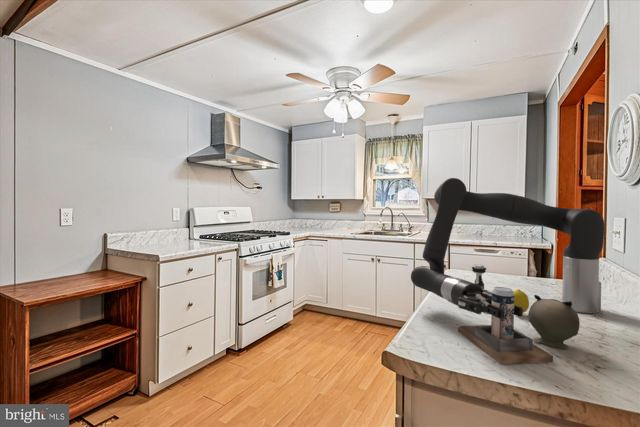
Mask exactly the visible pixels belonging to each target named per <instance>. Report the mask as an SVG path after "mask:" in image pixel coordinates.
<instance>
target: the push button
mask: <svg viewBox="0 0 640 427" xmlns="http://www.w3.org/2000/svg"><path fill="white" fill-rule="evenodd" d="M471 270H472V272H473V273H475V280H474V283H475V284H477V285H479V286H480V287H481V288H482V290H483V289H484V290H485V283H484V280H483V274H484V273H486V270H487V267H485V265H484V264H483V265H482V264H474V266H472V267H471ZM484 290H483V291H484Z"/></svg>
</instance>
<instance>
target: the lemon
mask: <svg viewBox="0 0 640 427" xmlns="http://www.w3.org/2000/svg"><path fill="white" fill-rule="evenodd" d="M512 291H513V293H514V294H515V296H514V305H517V306H519V307H522V309H523V314H524V313H526V312H527V311H529V310H528V309H529V308H530V307H529V306H530V301H529V300H530V299H529V296H528V295H527V294H526V293H525V292H524V291H522V290H521V289H519V288H518V289H517V290H512Z"/></svg>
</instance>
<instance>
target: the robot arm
mask: <svg viewBox="0 0 640 427" xmlns="http://www.w3.org/2000/svg"><path fill="white" fill-rule="evenodd" d="M433 197H434V198H433V199H434V201H435V204H437V205H438V206H437V211H436V215H435V217H434V220H433V222H432V224H431V227H430V230H429V233H428V235H427V238H426V241H425V244H424V249H423V251H422V259H424V261H426V262H427V263H428V265H429V267H427V266H423V265H420V266H416V267H415V268H414V269H412V271H411V274H410V280H411V283H412V284H413V285H414V286H415V287H418V288H420V289H423V290H425V291H428V292H429V293H432V294H434V295H436V296H438V297H439V298H442V299H444V300H446V301H448V302H449V303H451V304H453V305H455V306H456V307H458V309H461V310H465V311H468V312H471V313H474V314H477V315H481V314H482V313H483V314H485V315H490V316H492V315H493V316H495V317H497V318H499V319H503V318H504V310H503V309H501V308H499V307H496V306H494V305H492V294H491V293H490V292H484V290H482V288H481V287H480V286H479V285H477V284H475V282H471V281H469V280H466V279H463V278H459V277H454V276H451V275H448V274H445V257H446V253H447V250H448V246H449V242H450V238H451V234H452V231H453V226H454V224H455V220H456V218H457V215H458V213H459V211H463V212H467V213H468V212H469V213H470V212H471V213H475V214H479V215H481V216H486V217H491V218H494V219H499V220H502V221H507V222H511V223H516V224H522V225H528V226H529V225H530V226H540V227H545V228H548V229H551V230H556V231H558V232H561V233H563V234H567V235H569V236H570V239H569V243H568V245H567V246H566V247H564V248H563V251H562V252H563V253H562V257H563V258H562V289H561V290H562V295H561V296H562V298H561V302H565V301H567V302H569V301H571V303H572V306H571V307H572V308H573V309H574V310H575V311H576V312H577V313H584V314H597V313H598V312H602V309H601V308H602V281H600V280H599V279H600V276H599V275H600V254H601V252H602V251H603V247H604V240H605V239H604V238H605V220H604V217H603V216H602V214H601V213H600V212H599V211H597V210H594V209H591V208H567V207H566V208H565V207H558V206H552V205H547V204H545V203H542V202H539V201H537V200H535V199H533V198H529V197H525V196H521V195H518V194H512V193H505V192H488V193H483V192H480V193H478V192H473V191H468V190H467V187H466V184H465V183H464V182H463V181H462V180H461V179H460V178H456V177H450V178H447V179H445V180H443V181H442V182H441V183H440V185H439V186H438V187H437V189H436V190H435V192H434V195H433ZM523 314H524V313H523V309H522V307H519V306H517V305H514V316H517V317H519V318H520V317H523Z"/></svg>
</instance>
